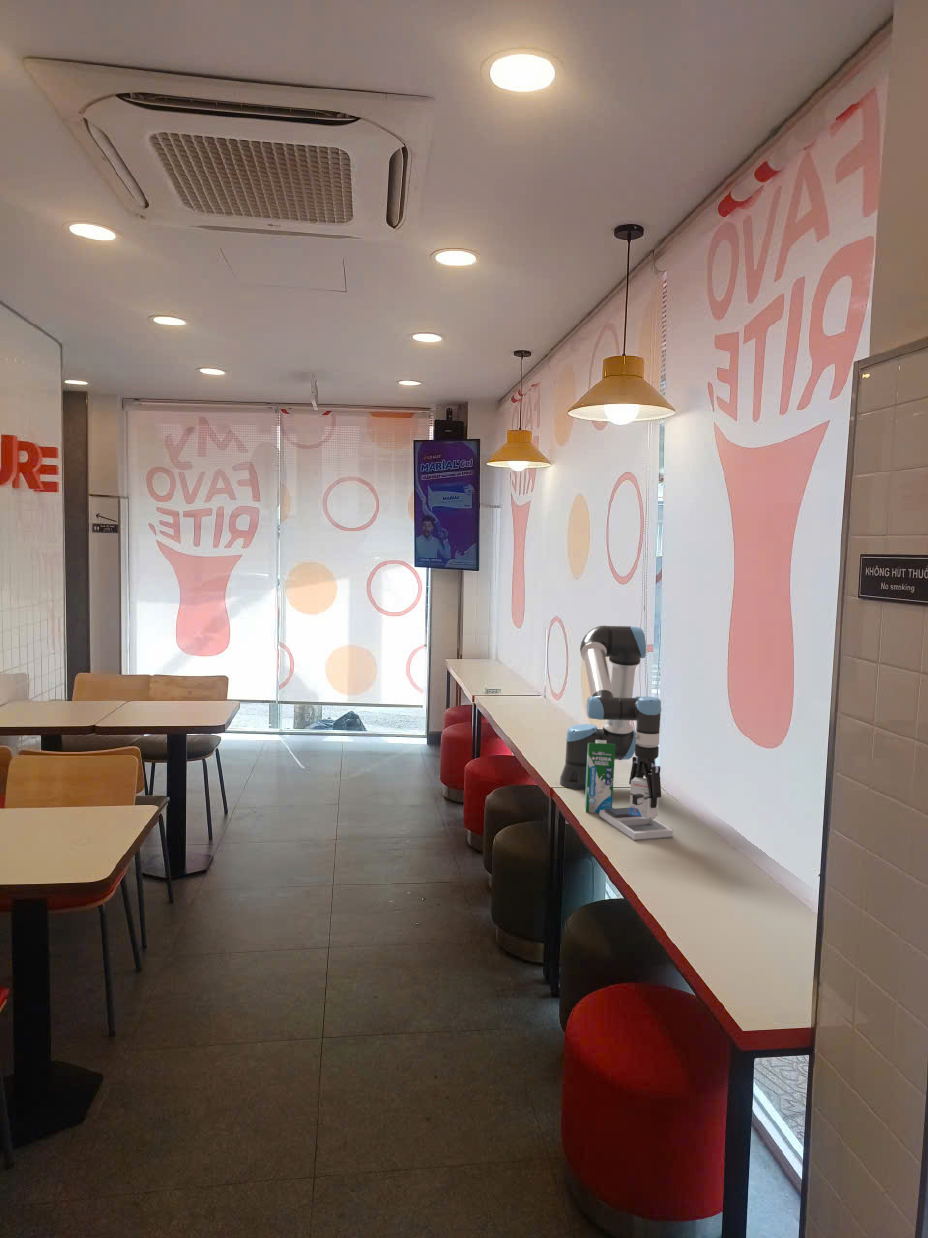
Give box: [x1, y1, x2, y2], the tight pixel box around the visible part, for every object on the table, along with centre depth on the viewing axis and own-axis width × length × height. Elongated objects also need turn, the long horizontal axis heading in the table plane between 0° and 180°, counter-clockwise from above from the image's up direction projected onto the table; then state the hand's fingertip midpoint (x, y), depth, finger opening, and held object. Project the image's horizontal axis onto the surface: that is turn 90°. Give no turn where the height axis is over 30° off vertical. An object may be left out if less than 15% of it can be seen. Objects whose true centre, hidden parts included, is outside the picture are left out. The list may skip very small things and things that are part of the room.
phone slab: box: [605, 807, 636, 818], centre depth 282 cm, size 7×12×1 cm, turn 108°
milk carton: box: [584, 740, 616, 814], centre depth 293 cm, size 9×9×25 cm
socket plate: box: [599, 810, 674, 842], centre depth 276 cm, size 24×14×2 cm, turn 18°
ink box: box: [629, 777, 660, 819], centre depth 271 cm, size 8×5×12 cm, turn 62°
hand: (643, 812), depth 271 cm, fingers closed on ink box, 9 cm apart
